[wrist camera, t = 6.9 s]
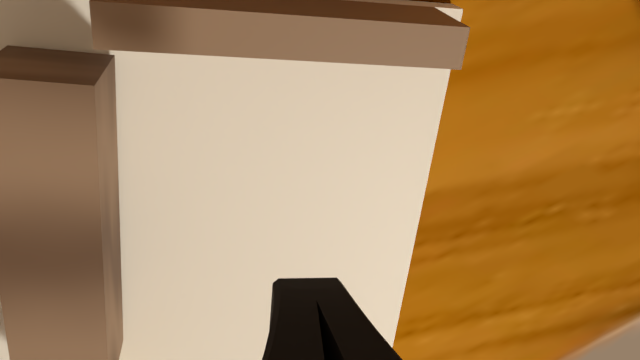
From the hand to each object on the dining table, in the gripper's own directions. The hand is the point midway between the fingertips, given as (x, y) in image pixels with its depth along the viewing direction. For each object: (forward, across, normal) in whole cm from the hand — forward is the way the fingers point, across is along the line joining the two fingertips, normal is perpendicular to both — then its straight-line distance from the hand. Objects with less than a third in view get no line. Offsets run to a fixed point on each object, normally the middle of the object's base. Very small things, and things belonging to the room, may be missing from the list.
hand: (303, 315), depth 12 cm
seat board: (+10, +3, +4) cm, 11 cm away
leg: (+9, +7, +3) cm, 11 cm away
